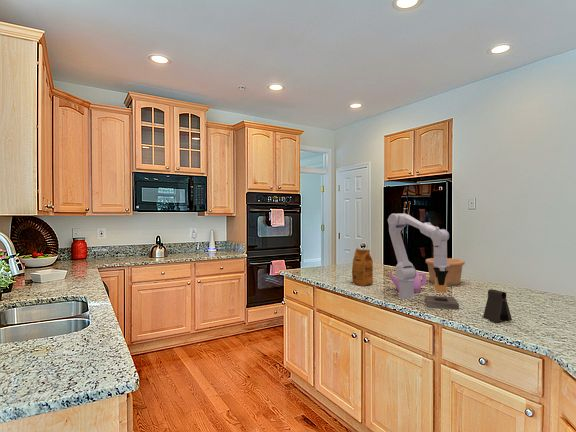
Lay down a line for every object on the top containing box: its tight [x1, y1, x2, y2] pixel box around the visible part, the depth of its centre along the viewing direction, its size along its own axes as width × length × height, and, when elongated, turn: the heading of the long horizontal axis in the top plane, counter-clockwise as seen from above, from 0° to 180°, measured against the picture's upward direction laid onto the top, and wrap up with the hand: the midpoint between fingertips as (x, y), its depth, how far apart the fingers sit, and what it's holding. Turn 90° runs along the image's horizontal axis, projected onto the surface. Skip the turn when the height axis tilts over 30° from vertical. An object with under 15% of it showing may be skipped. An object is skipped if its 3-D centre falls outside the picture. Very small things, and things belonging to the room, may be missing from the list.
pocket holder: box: [424, 295, 460, 311], centre depth 162 cm, size 13×13×3 cm
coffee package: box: [351, 248, 374, 287], centre depth 214 cm, size 10×12×22 cm
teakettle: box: [387, 270, 428, 294], centre depth 197 cm, size 17×17×12 cm
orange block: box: [434, 277, 448, 293], centre depth 162 cm, size 4×4×6 cm
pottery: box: [425, 257, 465, 287], centre depth 212 cm, size 22×22×14 cm
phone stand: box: [482, 288, 513, 324], centre depth 141 cm, size 9×6×12 cm, turn 110°
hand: (440, 283), depth 162 cm, fingers closed on orange block, 4 cm apart
